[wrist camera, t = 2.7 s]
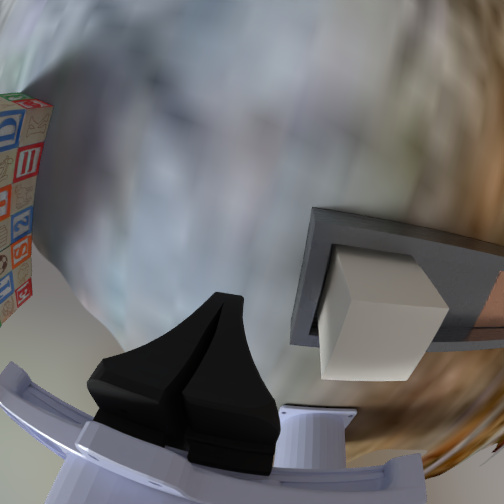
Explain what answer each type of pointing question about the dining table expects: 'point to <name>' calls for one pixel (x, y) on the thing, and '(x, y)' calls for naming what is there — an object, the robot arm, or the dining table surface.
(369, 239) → the gray rectangular tray
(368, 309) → the block
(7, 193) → the stack of blocks
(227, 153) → the dining table surface
